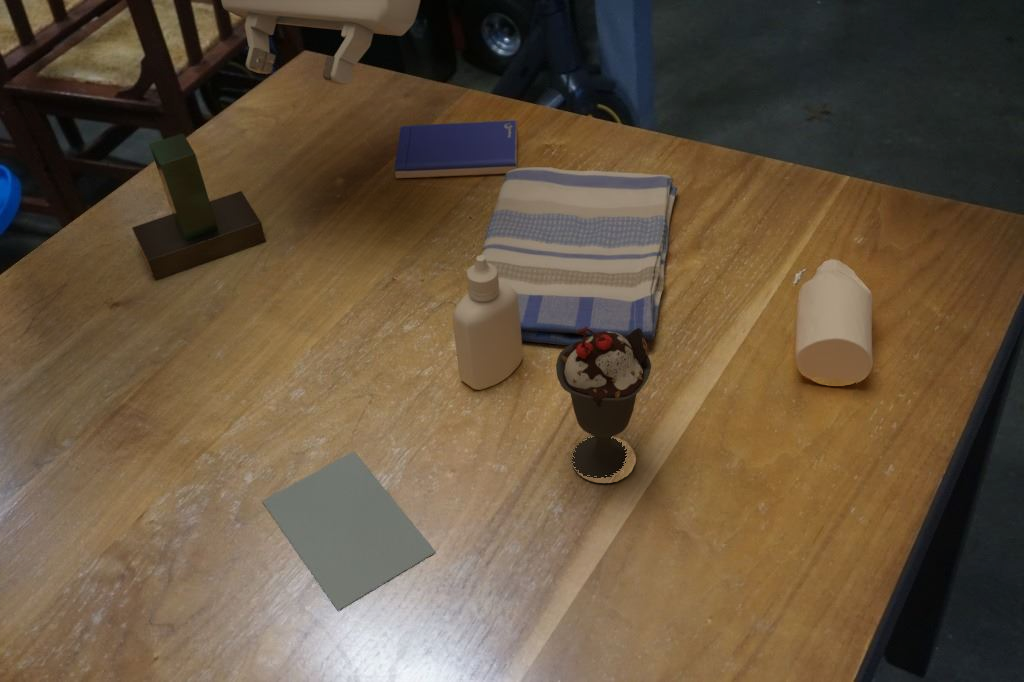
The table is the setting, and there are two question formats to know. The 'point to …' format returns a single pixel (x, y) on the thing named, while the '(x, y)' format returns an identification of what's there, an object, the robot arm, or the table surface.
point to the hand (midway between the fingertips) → (295, 76)
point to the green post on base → (193, 216)
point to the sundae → (603, 394)
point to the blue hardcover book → (456, 149)
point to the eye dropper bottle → (487, 328)
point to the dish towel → (582, 250)
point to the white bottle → (834, 325)
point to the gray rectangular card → (347, 529)
